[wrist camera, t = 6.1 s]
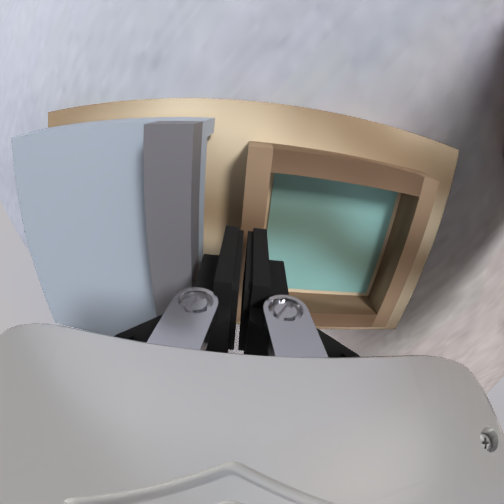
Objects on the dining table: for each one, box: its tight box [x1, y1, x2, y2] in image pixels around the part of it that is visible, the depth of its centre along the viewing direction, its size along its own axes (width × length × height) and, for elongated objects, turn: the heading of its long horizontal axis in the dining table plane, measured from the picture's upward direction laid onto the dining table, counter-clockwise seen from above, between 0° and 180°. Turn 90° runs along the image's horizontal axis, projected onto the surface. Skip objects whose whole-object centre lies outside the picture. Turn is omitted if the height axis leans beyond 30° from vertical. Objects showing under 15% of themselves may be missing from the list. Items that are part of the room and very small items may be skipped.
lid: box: [12, 117, 215, 336], centre depth 12 cm, size 11×10×4 cm
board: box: [48, 98, 459, 329], centre depth 14 cm, size 13×23×3 cm, turn 85°
